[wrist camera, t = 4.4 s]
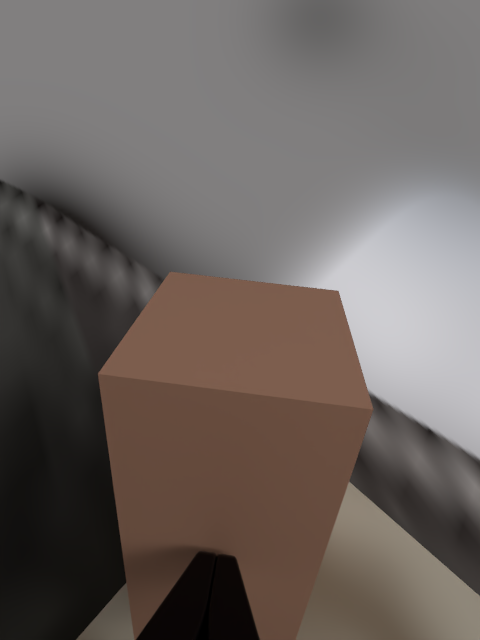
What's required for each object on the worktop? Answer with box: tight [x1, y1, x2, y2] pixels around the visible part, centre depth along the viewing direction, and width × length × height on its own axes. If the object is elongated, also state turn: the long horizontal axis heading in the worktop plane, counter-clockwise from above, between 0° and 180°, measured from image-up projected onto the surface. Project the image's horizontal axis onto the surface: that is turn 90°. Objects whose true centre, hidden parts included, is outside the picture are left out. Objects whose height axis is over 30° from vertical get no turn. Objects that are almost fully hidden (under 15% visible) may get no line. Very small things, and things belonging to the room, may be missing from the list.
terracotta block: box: [98, 272, 373, 640], centre depth 11 cm, size 4×4×10 cm
